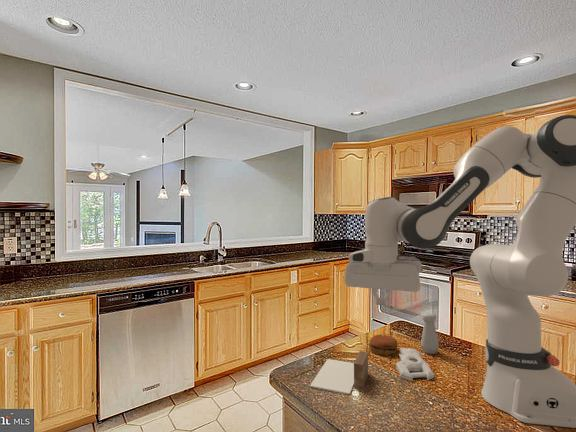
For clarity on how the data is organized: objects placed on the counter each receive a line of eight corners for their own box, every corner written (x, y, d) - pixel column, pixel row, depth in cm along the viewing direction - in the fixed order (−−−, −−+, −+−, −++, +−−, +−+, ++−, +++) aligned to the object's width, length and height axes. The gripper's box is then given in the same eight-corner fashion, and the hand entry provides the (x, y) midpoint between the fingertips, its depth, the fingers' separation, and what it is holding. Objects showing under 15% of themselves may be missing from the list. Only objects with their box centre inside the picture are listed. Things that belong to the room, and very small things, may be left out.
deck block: (368, 373, 97) (367, 352, 97) (362, 388, 88) (362, 364, 88) (360, 372, 97) (359, 350, 98) (354, 387, 89) (353, 363, 89)
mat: (361, 365, 102) (361, 364, 102) (349, 394, 85) (349, 393, 85) (327, 360, 106) (327, 358, 106) (309, 386, 89) (309, 385, 89)
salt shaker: (418, 348, 115) (417, 311, 115) (434, 348, 114) (434, 311, 114) (424, 355, 109) (424, 316, 109) (441, 355, 109) (441, 316, 109)
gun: (388, 344, 110) (418, 345, 109) (388, 354, 110) (418, 355, 109) (403, 373, 92) (439, 374, 91) (403, 385, 92) (439, 386, 91)
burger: (373, 356, 109) (373, 342, 109) (365, 345, 118) (365, 332, 118) (402, 355, 109) (402, 341, 109) (391, 344, 119) (391, 331, 119)
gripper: (421, 255, 90) (421, 305, 90) (348, 252, 98) (348, 298, 97) (421, 258, 84) (421, 311, 84) (343, 255, 92) (343, 304, 92)
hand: (381, 304), depth 91 cm, fingers closed
